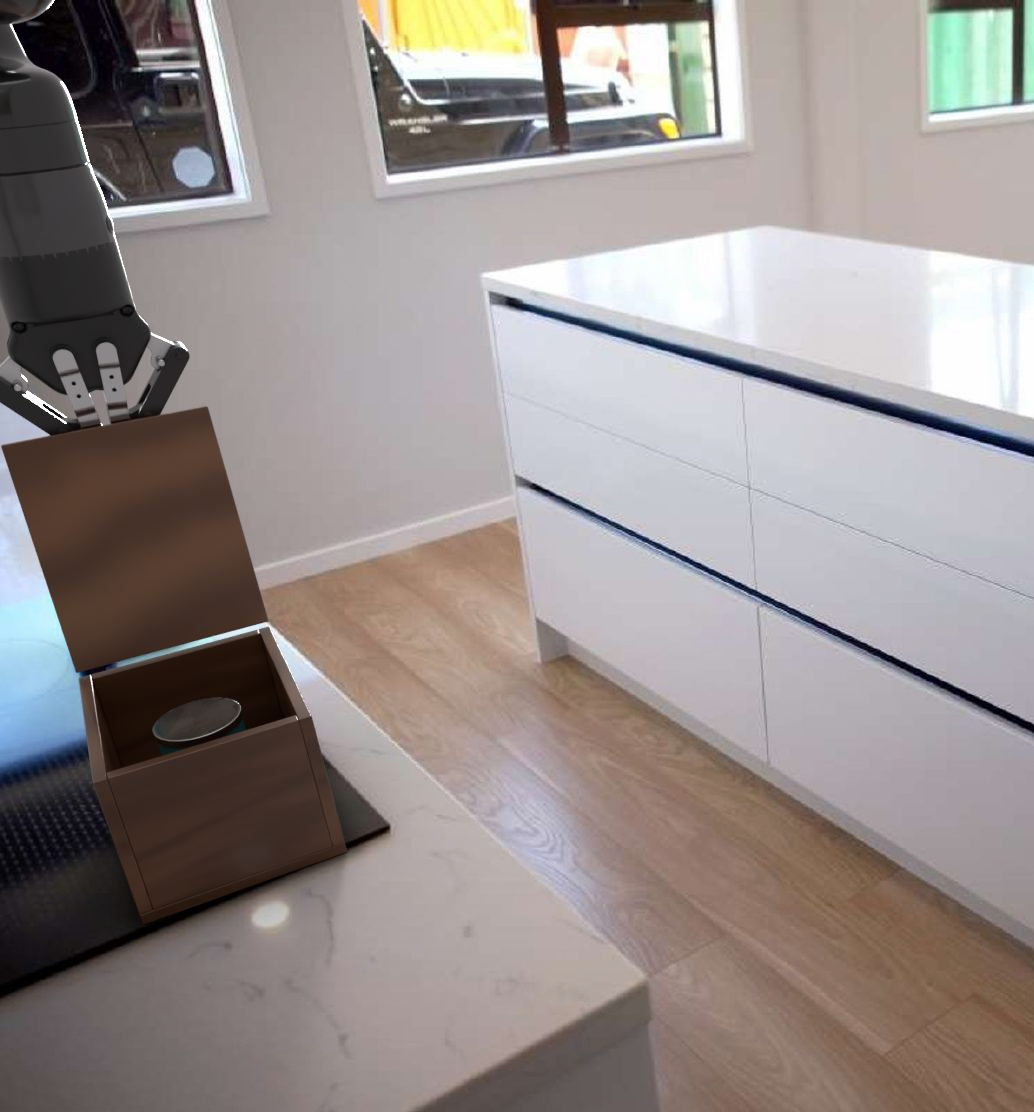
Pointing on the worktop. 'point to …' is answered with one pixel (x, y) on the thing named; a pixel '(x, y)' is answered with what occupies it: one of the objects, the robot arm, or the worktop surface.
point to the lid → (136, 535)
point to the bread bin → (208, 775)
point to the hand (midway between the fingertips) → (125, 487)
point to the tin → (198, 724)
